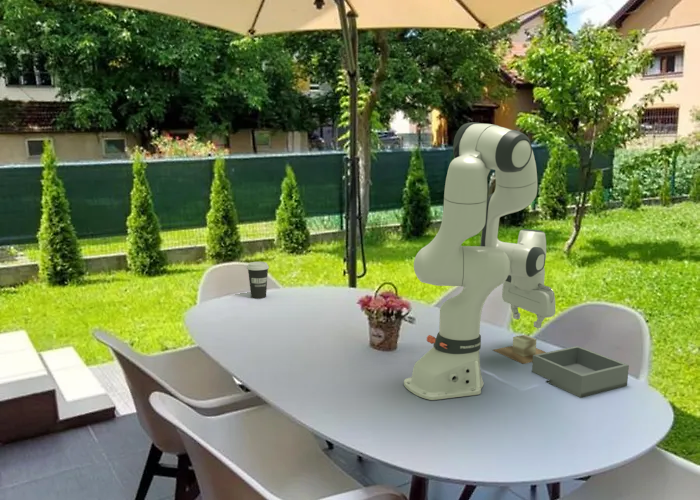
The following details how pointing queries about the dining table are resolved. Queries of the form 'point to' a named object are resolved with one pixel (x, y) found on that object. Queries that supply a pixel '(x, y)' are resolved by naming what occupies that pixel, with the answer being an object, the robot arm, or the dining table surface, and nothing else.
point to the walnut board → (508, 353)
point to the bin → (580, 371)
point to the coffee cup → (258, 279)
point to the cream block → (524, 345)
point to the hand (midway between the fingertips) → (526, 322)
